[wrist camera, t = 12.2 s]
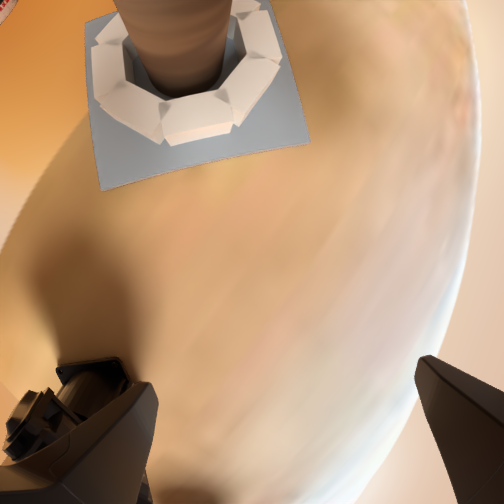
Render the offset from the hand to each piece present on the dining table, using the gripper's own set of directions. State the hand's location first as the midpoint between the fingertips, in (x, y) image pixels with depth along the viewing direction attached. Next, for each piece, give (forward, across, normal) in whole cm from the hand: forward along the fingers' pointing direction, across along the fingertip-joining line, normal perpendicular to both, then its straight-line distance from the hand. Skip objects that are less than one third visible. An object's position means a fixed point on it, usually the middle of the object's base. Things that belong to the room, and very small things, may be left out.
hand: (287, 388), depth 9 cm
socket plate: (+13, +5, -14) cm, 20 cm away
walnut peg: (+12, +4, -14) cm, 19 cm away
